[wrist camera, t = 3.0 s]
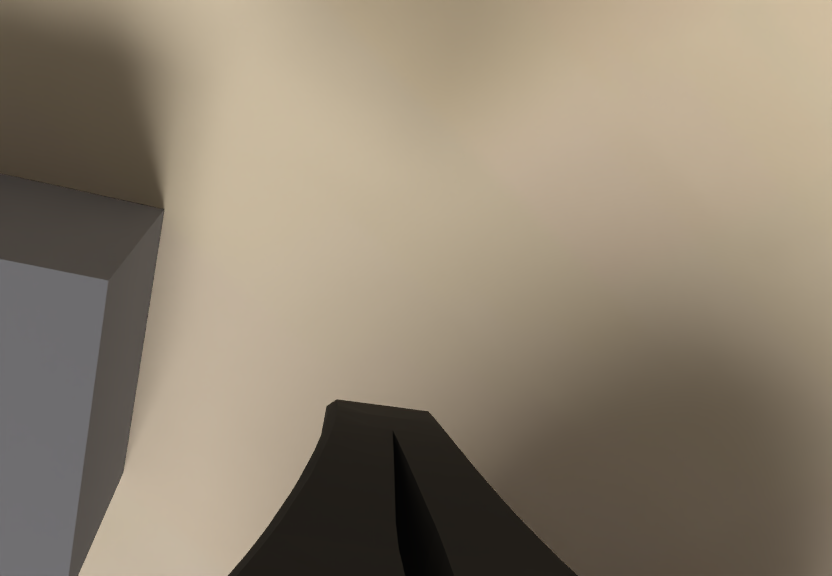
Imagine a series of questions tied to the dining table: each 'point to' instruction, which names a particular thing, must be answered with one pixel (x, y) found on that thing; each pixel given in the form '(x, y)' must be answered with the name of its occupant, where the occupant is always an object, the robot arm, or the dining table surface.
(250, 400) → the dining table surface
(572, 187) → the dining table surface
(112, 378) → the doorstop
